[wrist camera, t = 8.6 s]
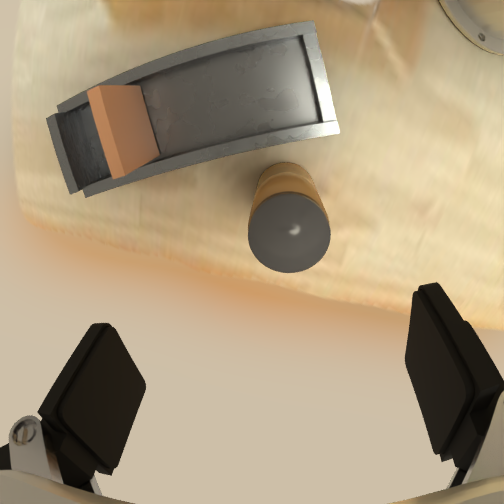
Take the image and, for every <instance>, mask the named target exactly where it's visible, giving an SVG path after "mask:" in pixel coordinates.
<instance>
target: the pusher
mask: <svg viewBox="0 0 504 504" xmlns="http://www.w3.org/2000/svg"><path fill="white" fill-rule="evenodd" d="M87 94H88V98H89V102H90V106H91V109H92V113H93V117H94V120H95V124H96V127H97V131H98V134H99V137H100V141H101V144H102V147H103V150H104V153H105V157H106V160H107V163H108V166H109V169H110V172H111V175H112V178H113V179H116V178H119V177H122V176H125V175H127V174H129V173H130V172H132V171H134V170H135V169H137V168H139V167H140V166H142V165H144V164H146V163H147V162H149V161H151V160H153V159H154V158H156V157H158V156H160V154H159V150H158V147H157V144H156V140H155V137H154V133H153V130H152V127H151V123H150V120H149V116H148V113H147V109H146V105H145V102H144V98H143V95H142V91H141V87H140V86H135V85H99V86H96V87H94V88H92V89H90V90H88V91H87Z"/></svg>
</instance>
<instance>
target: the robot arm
mask: <svg viewBox="0 0 504 504" xmlns="http://www.w3.org/2000/svg"><path fill="white" fill-rule="evenodd" d="M439 2H440V4H441V5H442V7H443V9H444V10H445V12H446V14H447V15H448V17H449V18H450V19H451V21H452V22H453V23H454V25H455V26H456V27H457V28H458V29H459V30H460V31H461V32H462V33H463V34H464V35H465V36H466V37H467V38H468V39H469V40H470V41H472V42H473V43H474V44H476V45H477V46H479V47H480V48H482V49H484V50H486V51H488V52H490V53H494V54H498V55H504V0H439ZM405 364H406V368H407V371H408V374H409V376H410V379H411V382H412V385H413V388H414V391H415V394H416V397H417V400H418V403H419V406H420V409H421V412H422V415H423V418H424V422H425V424H426V428H427V431H428V435H429V438H430V442H431V445H432V449H433V452H434V453H435V454H436V455H437V454H440V457H441V461H442V462H443V461H446V460H449V459H452V458H453V460H454V464H455V467H457V469H456V471H455V473H454V475H453V477H452V479H451V481H450V483H449V485H448V487H447V488H446V489H445V490H441V491H437V492H433V493H430V494H426V495H423V496H419V497H415V498H411V499H407V500H403V501H398V502H394V503H389V504H504V380H503V378H502V377H501V375H500V373H499V371H498V369H497V368H496V366H495V364H494V362H493V361H492V359H491V358H490V356H489V354H488V352H487V351H486V349H485V347H484V345H483V344H482V342H481V340H480V339H479V337H478V336H477V334H476V332H475V331H474V329H473V328H472V326H471V325H470V324H469V322H467V321H464V320H463V319H462V317H461V316H460V314H459V312H458V311H457V309H456V308H455V306H454V305H453V303H452V302H451V300H450V299H449V297H448V296H447V294H446V293H445V292H444V290H443V289H442V287H441V286H440V284H439V283H437V282H436V283H430V284H425V285H420V286H419V288H418V291H415V292H414V293H413V297H412V307H411V316H410V325H409V333H408V340H407V346H406V353H405ZM145 390H146V383H145V380H144V379H143V377H142V375H141V374H140V372H139V370H138V368H137V367H136V365H135V363H134V362H133V360H132V358H131V356H130V355H129V353H128V351H127V349H126V347H125V345H124V344H123V342H122V340H121V338H120V336H119V334H118V333H117V331H116V329H115V328H114V327H112V326H111V325H110V324H109V323H95V324H92V325H91V326H90V328H89V329H88V331H87V332H86V334H85V335H84V337H83V338H82V340H81V341H80V343H79V345H78V346H77V347H76V349H75V351H74V352H73V354H72V355H71V357H70V359H69V360H68V362H67V363H66V365H65V366H64V368H63V370H62V371H61V373H60V374H59V376H58V378H57V379H56V381H55V383H54V384H53V386H52V388H51V389H50V391H49V393H48V394H47V396H46V398H45V400H44V401H43V403H42V405H41V406H40V408H39V410H38V413H39V415H40V416H41V417H42V420H41V421H40V420H39V419H38V418H37V417H35V416H25V417H22V418H21V419H20V420H18V421H17V422H16V423H15V424H14V425H13V427H12V428H11V430H10V433H9V443H8V444H6V445H4V446H2V447H0V504H134V503H129V502H125V501H121V500H116V499H112V498H108V497H104V496H102V493H101V491H100V489H99V486H98V483H97V481H96V478H95V476H94V473H95V470H97V471H98V472H99V473H102V474H107V475H112V473H113V470H114V468H116V467H117V466H118V464H119V461H120V458H121V456H122V453H123V450H124V447H125V444H126V442H127V439H128V436H129V433H130V430H131V428H132V425H133V422H134V420H135V417H136V414H137V411H138V408H139V406H140V403H141V401H142V398H143V396H144V393H145Z"/></svg>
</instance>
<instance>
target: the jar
mask: <svg viewBox="0 0 504 504" xmlns="http://www.w3.org/2000/svg"><path fill="white" fill-rule="evenodd" d="M330 236H331V234H330V226H329V220H328V216H327V213H326V211H325V208H324V206H323V203H322V201H321V199H320V196H319V194H318V192H317V189H316V187H315V185H314V182H313V180H312V178H311V176H310V175H309V173H308V172H307V171H306V170H305V169H304V168H302V167H301V166H299V165H297V164H293V163H288V162H283V163H278V164H275V165H272V166H271V167H269V168H268V169H266V170H265V171H264V172H263V174H262V175H261V177H260V178H259V181H258V184H257V188H256V193H255V197H254V201H253V205H252V209H251V214H250V218H249V223H248V240H249V245H250V248H251V250H252V252H253V254H254V255H255V257H256V258H257V259H258V260H259V261H260V262H261V263H262V264H263V265H265V266H266V267H268V268H270V269H272V270H275V271H278V272H283V273H295V272H300V271H303V270H306V269H308V268H310V267H312V266H313V265H315V264H316V263H317V262H319V261H320V259H321V258H322V257H323V256H324V254H325V253H326V251H327V249H328V246H329V243H330Z"/></svg>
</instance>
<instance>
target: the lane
mask: <svg viewBox="0 0 504 504" xmlns="http://www.w3.org/2000/svg"><path fill="white" fill-rule="evenodd" d="M316 33H317V31H316V28H315V24H314V21H306V22H299V23H292V24H286V25H281V26H275V27H270V28H265V29H260V30H255V31H251V32H246V33H242V34H238V35H234V36H230V37H226V38H222V39H218V40H215V41H211V42H208V43H204V44H201V45H198V46H194V47H191V48H188V49H185V50H182V51H179V52H176V53H173V54H170V55H167V56H165V57H162V58H159V59H156V60H154V61H151V62H148V63H146V64H143V65H141V66H138V67H136V68H133V69H131V70H129V71H126V72H124V73H122V74H119V75H117V76H115V77H113V78H110V79H108V80H106V81H104V82H102V83H100V84H98V85H95V86H93V87H91V88H89V89H87V90H85V91H83V92H81V93H79V94H78V95H76V96H74V97H72V98H70V99H68V100H66V101H64V102H63V103H61V104H59V105H57V108H58V112H59V113H56V114H53V115H51V116H50V117H48V118H46V120H47V124H48V127H49V131H50V135H51V138H52V141H53V145H54V148H55V151H56V155H57V158H58V161H59V164H60V167H61V170H62V173H63V176H64V179H65V182H66V185H67V187H68V190H69V193H70V194H73V193H76V192H78V191H80V190H82V189H83V192H84V195H85V198H87V197H89V196H92V195H95V194H98V193H101V192H104V191H107V190H110V189H113V188H116V187H119V186H122V185H125V184H128V183H131V182H135V181H138V180H141V179H144V178H148V177H151V176H154V175H158V174H161V173H165V172H168V171H172V170H175V169H179V168H182V167H186V166H190V165H193V164H197V163H201V162H205V161H209V160H213V159H217V158H221V157H225V156H229V155H233V154H238V153H242V152H246V151H251V150H255V149H260V148H265V147H269V146H274V145H279V144H284V143H289V142H294V141H300V140H305V139H311V138H316V137H322V136H328V135H334V134H340V131H339V125H338V121H337V120H336V116H335V111H334V106H333V101H332V97H331V92H330V88H329V83H328V79H327V75H326V70H325V66H324V62H323V58H322V54H321V50H320V47H319V43H318V39H317V35H316ZM99 85H135V86H140V87H141V91H142V95H143V98H144V102H145V105H146V109H147V113H148V116H149V120H150V123H151V127H152V130H153V133H154V137H155V140H156V144H157V147H158V150H159V154H160V156H158V157H156V158H154V159H153V160H151V161H149V162H147V163H146V164H144V165H142V166H140V167H139V168H137V169H135V170H134V171H132V172H130V173H129V174H127V175H125V176H122V177H119V178H116V179H113V178H112V175H111V172H110V169H109V166H108V163H107V160H106V157H105V153H104V150H103V147H102V144H101V141H100V137H99V134H98V131H97V127H96V124H95V120H94V117H93V113H92V109H91V106H90V102H89V98H88V94H87V91H88V90H90V89H92V88H94V87H96V86H99Z"/></svg>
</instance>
